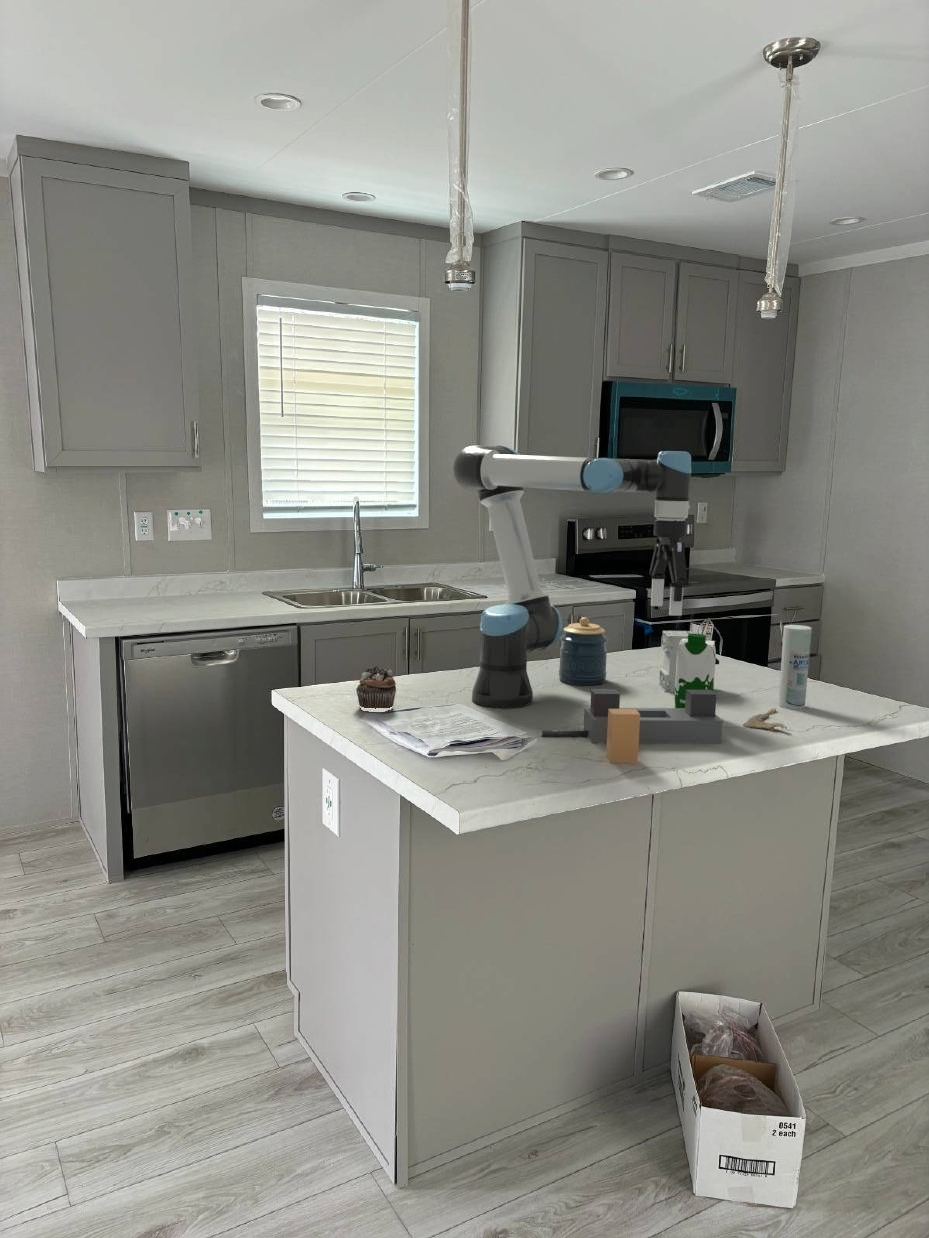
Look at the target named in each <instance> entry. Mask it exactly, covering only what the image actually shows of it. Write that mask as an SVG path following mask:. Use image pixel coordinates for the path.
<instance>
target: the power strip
mask: <svg viewBox="0 0 929 1238" xmlns="http://www.w3.org/2000/svg"><path fill="white" fill-rule="evenodd" d="M717 695H718V694H716V692H713V691H712V690H686V699H685V708H675V707H620V705H621V703H620V701H621V693H620V692H619V691H618V689H616V688H615V689H614V688H613V689H611V688H610V689H609V688H607V689H606V688H602V689H601V688H599V689H598V688H592V689H590V707H584V710H583V711H584V713H583V730H552V729H551V730H545V729H543V730H541V737H587V738H588V739H589V740H590V742H591V743H592V744H607V728H608V709H636V710H637V711H638V712H639V714H640V728H639V744H722V743H723V726H724V720H723V719H722V718H720V717H719V716H718V715H717V714H716V710H717Z"/></svg>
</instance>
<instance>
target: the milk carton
mask: <svg viewBox="0 0 929 1238" xmlns="http://www.w3.org/2000/svg"><path fill="white" fill-rule="evenodd" d="M715 642H716V640H707V636H706V635H705V634H703V633H695V634H688V639H682V640H681V641H680V643H679V646H678V651H677V661H676V678H675V692H674V706H675V707H674V708H685V699H686V690H712V691H713V692H714V690H715V689H714V688H715V674H716V672H715V671H716V664H715V659H716V658H717V653H716V652H717V651H716V645H715ZM714 693H715V692H714Z"/></svg>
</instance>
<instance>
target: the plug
mask: <svg viewBox="0 0 929 1238" xmlns="http://www.w3.org/2000/svg"><path fill="white" fill-rule="evenodd" d="M639 728H640V714H639V712H638V711H637V710H636V709H608V728H607V743H606V756H605V757H606V758H607V760H608V762H609V763H610V764H639V762H638V761H639V747H640V745H639V744H640V743H639Z"/></svg>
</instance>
